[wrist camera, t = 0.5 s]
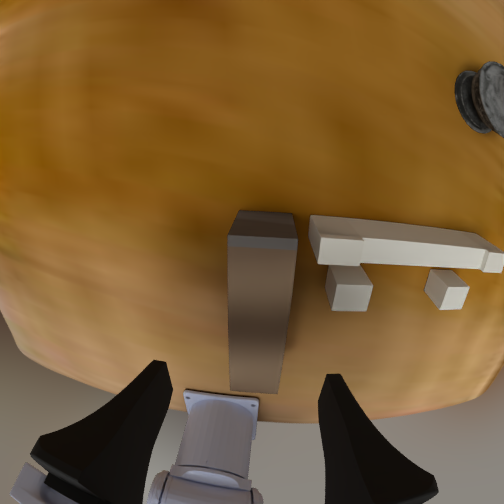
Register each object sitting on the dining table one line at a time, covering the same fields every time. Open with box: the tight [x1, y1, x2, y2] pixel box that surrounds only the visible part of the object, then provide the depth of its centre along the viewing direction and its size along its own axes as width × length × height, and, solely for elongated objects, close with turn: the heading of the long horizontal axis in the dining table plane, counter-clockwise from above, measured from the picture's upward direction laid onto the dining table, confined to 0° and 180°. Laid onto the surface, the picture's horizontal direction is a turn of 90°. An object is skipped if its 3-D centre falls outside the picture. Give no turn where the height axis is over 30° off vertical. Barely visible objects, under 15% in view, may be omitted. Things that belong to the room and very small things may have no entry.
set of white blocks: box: [308, 215, 504, 311], centre depth 17 cm, size 6×15×4 cm, turn 88°
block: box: [228, 210, 298, 394], centre depth 18 cm, size 12×4×5 cm, turn 178°
